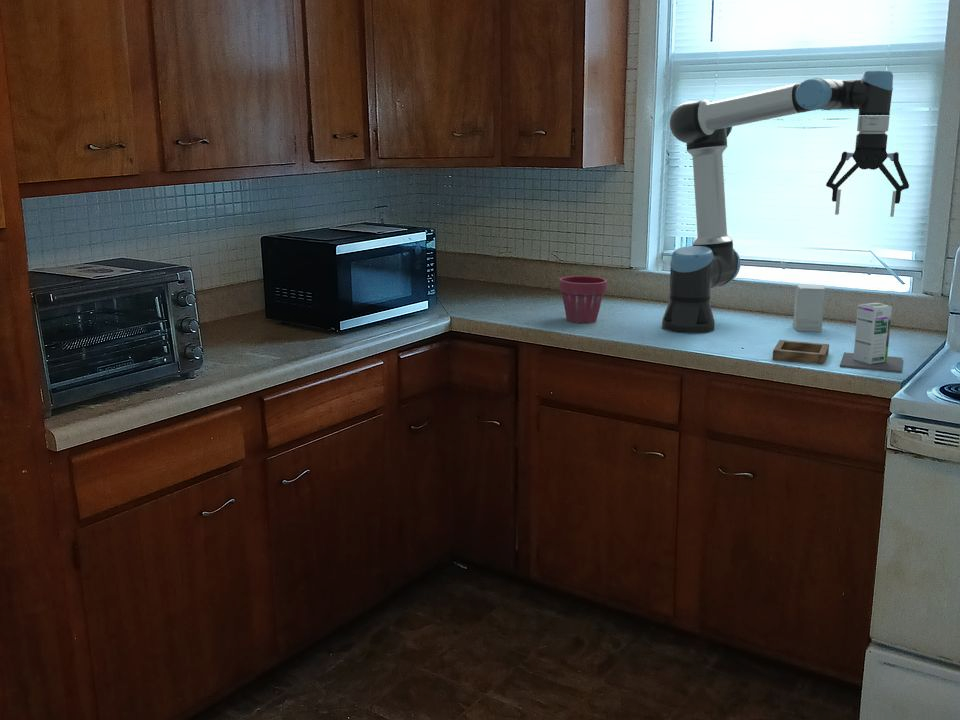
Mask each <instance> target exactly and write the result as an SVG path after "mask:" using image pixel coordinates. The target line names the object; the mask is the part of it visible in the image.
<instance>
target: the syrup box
mask: <svg viewBox="0 0 960 720" xmlns="http://www.w3.org/2000/svg"><path fill="white" fill-rule="evenodd" d="M892 310H893V306H892V305H889V304H887V303H882V302H871V303H859V304H857V311H856V323H855V332H854V333H855V334H854V335H855V336H854V348H853V353H854V357H853V359H854V360H857V361H859V362H863V363H866V364H875V363H882V362H887V356H889V355H888V353H889V342H890V334H891V333H890V331H891V324H892V323H891V322H892Z"/></svg>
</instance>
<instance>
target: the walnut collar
mask: <svg viewBox="0 0 960 720" xmlns="http://www.w3.org/2000/svg"><path fill="white" fill-rule="evenodd" d="M829 348H830V344H829V343H819V342H810V341H809V342H807V341H798V340H786V339H779V340H778V341H777V343H776V345H775V347H773V350H772V360H774V361H784V362H791V363H792V362H793V363H802V362H803V364H813V363H814V365H823V364H824V363H826V360H827V358H828V356H829V350H830V349H829ZM815 363H816V364H815ZM824 365H825V364H824Z"/></svg>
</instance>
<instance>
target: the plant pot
mask: <svg viewBox="0 0 960 720" xmlns="http://www.w3.org/2000/svg"><path fill="white" fill-rule="evenodd" d="M558 281H559V283H558V284H559V285H558V291H559V292H560V293H561V295H562V301H563V305H564V311H565V317H566V320H567V321H568V322H570V323H574V324H593V323H596V322H597V319H598V316H599V313H600V309H601V305H602V301H603V298H604V297H603V296H604V294H606V293H607V284H608V281H607V279H606V278H604V277H598V276H591V275H569V276H562V277H560V278H559V280H558Z"/></svg>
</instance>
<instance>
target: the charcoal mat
mask: <svg viewBox="0 0 960 720" xmlns="http://www.w3.org/2000/svg"><path fill="white" fill-rule="evenodd" d="M853 357H854V352H846V351H845V352H843V354H842V358H841V361H840V364H839V367H840V368H846V367H847V369H858V370H859V369H860V370H867V369H868V371H869V370H870V371H877V370H879V372H890V373H900V374H902V367H903V357H899V356H889V355H887V362H882V363H875V364H866V363H863V362H859V361H857V360H854V359H853Z"/></svg>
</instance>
